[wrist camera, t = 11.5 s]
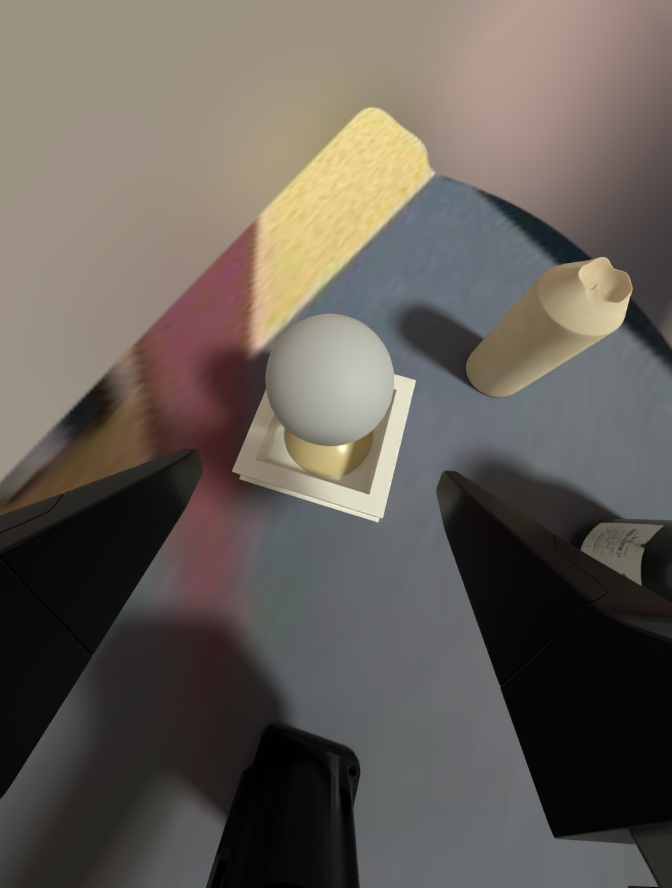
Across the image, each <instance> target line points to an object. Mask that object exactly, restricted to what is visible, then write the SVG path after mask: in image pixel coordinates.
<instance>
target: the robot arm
mask: <svg viewBox="0 0 672 888" xmlns="http://www.w3.org/2000/svg"><path fill="white" fill-rule="evenodd" d="M202 471H203V469H202V464H201V459H200V455H199V452H198V451H197V450H195V449H183V450H180V451H177V452H175V453H172V454H169V455H166V456H164V457H161V458H158V459H155V460H153V461H150V462H147V463H144V464H142V465H139V466H136V467H133V468H131V469H128V470H125V471H123V472H120V473H117V474H114V475H112V476H109V477H106V478H103V479H101V480H98V481H95V482H92V483H90V484H87V485H84V486H81V487H79V488H76V489H73V490H71V491H68V492H65V493H64V494H59V495H57V496H54V497H51V498H48V499H46V500H43V501H40V502H37V503H34V504H32V505H29V506H26V507H23V508H20V509H17V510H14V511H11V512H8V513H6V514H3V515H0V799H1V798H2V797H3V795H4V794H5V793H6V791H7V790H8V788H9V787H10V786H11V784H12V783H13V781H14V780H15V778H16V776H17V775H18V773H19V772H20V770H21V769H22V767H23V765H24V764H25V762H26V761H27V759H28V757H29V756H30V754H31V753H32V751H33V749H34V748H35V746H36V745H37V743H38V742H39V740H40V738H41V737H42V735H43V734H44V732H45V730H46V729H47V727H48V726H49V724H50V723H51V721H52V719H53V718H54V716H55V715H56V713H57V711H58V710H59V708H60V707H61V705H62V704H63V702H64V700H65V699H66V697H67V696H68V694H69V692H70V691H71V689H72V688H73V686H74V685H75V683H76V681H77V680H78V678H79V677H80V675H81V673H82V672H83V670H84V669H85V667H86V666H87V664H88V662H89V661H90V659H91V658H92V654H94V652H95V651H96V649H97V648H98V646H99V645H100V643H101V641H102V640H103V638H104V637H105V635H106V633H107V632H108V630H109V629H110V627H111V626H112V624H113V622H114V621H115V619H116V618H117V616H118V614H119V613H120V611H121V610H122V608H123V607H124V605H125V603H126V602H127V600H128V599H129V597H130V595H131V594H132V592H133V591H134V589H135V588H136V586H137V584H138V583H139V581H140V580H141V578H142V576H143V575H144V573H145V572H146V570H147V568H148V567H149V565H150V564H151V562H152V561H153V559H154V557H155V556H156V554H157V553H158V551H159V549H160V548H161V546H162V545H163V543H164V542H165V540H166V538H167V537H168V535H169V534H170V532H171V530H172V529H173V527H174V526H175V524H176V523H177V521H178V519H179V518H180V516H181V515H182V513H183V511H184V510H185V508H186V506H187V504H188V502H189V500H190V498H191V496H192V494H193V492H194V490H195V487H196V485H197V483H198V481H199V479H200V477H201V475H202ZM436 494H437V498H438V503H439V507H440V512H441V516H442V520H443V525H444V529H445V532H446V535H447V538H448V541H449V544H450V547H451V549H452V552H453V555H454V558H455V561H456V564H457V566H458V569H459V572H460V575H461V578H462V581H463V583H464V586H465V589H466V592H467V595H468V597H469V600H470V603H471V606H472V609H473V612H474V614H475V617H476V620H477V623H478V626H479V629H480V631H481V634H482V637H483V640H484V643H485V646H486V648H487V651H488V654H489V657H490V660H491V663H492V665H493V668H494V671H495V674H496V677H497V679H498V682H499V685H500V686H501V687H500V689H501V691H502V694H503V697H504V700H505V703H506V706H507V708H508V711H509V714H510V717H511V720H512V723H513V725H514V728H515V731H516V734H517V737H518V739H519V742H520V745H521V748H522V751H523V754H524V756H525V759H526V762H527V765H528V768H529V771H530V773H531V776H532V779H533V782H534V785H535V788H536V790H537V793H538V796H539V799H540V802H541V805H542V807H543V810H544V813H545V816H546V819H547V821H548V824H549V826H550V829H551V831H552V834H553V836H554V838H555V839H566V840H580V841H594V842H608V843H622V844H636V846H637V848H638V849H639V851H640V853H641V855H642V857H643V859H644V861H645V863H646V864H647V866H648V868H649V870H650V872H651V874H652V876H653V878H654V879H655V881H656V883H657V885H658V887H642V886H628V888H672V603H671V602H669V601H667V600H665V599H664V598H662V597H660V596H658V595H657V594H655V593H653V592H652V591H650V590H648V589H646V588H645V587H643V586H641V585H639V584H638V583H636V582H634V581H632V580H631V579H629V578H627V577H625V576H624V575H622V574H620V573H618V572H617V571H615V570H613V569H612V568H610V567H608V566H606V565H605V564H603V563H601V562H600V561H598V560H596V559H594V558H593V557H591V556H589V555H588V554H586V553H584V552H583V551H581V550H580V549H578V548H576V547H575V546H573V545H572V544H570V543H568V542H567V541H565V540H564V539H562V538H560V537H559V536H557V535H556V534H552V532H551V531H549V530H548V529H546V528H544V527H543V526H541V525H540V524H538V523H537V522H535V521H533V520H532V519H530V518H529V517H527V516H525V515H524V514H522V513H521V512H519V511H518V510H516V509H514V508H513V507H511V506H510V505H508V504H507V503H505V502H503V501H502V500H500V499H499V498H497V497H495V496H494V495H492V494H491V493H489V492H488V491H486V490H484V489H483V488H481V487H480V486H478V485H476V484H475V483H473V482H472V481H470V480H469V479H467V478H465V477H464V476H462V475H461V474H459V473H458V472H456V471H443V473H442V475H441V477H440V480H439V483H438V486H437V489H436ZM267 736H271V737H272V740H267V738H266V737H267ZM351 766H354V767H355V769H354V770H350V769H349V768H350V767H351ZM359 777H360V764H359V760H358V758H357V757H356V756H354V755H352V754H349V753H346V752H343V751H341V750H338V749H335V748H332V747H330V746H327V745H324V744H321V743H318V742H316V741H313V740H310V739H307V738H305V737H302V736H299V735H296V734H293V733H291V732H288V731H285V730H282V729H279V728H277V727H274V726H268V727H266V728H265V729H264V731H263V734H262V737H261V740H260V744H259V747H258V750H257V754H256V757H255V760H254V764H253V767H252V768H250V767H247V768H246V769H245V770H244V771H243V773H242V776H241V779H240V783H239V786H238V789H237V792H236V795H235V798H234V801H233V804H232V807H231V810H230V813H229V816H228V819H227V822H226V825H225V829H224V832H223V835H222V838H221V841H220V844H219V847H218V850H217V853H216V856H215V860H214V863H213V866H212V869H211V873H210V876H209V879H208V882H207V886H206V888H360V886H359V874H358V862H357V850H356V838H355V825H354V813H353V806H354V801H355V796H356V792H357V787H358V782H359Z"/></svg>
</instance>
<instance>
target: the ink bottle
mask: <svg viewBox="0 0 672 888" xmlns="http://www.w3.org/2000/svg"><path fill="white" fill-rule="evenodd" d="M572 545H573V546H575V547H576V548H578V549H580V550H581V551H583V552H584V553H586V554H588V555H589V556H591V557H593V558H594V559H596V560H598V561H600V562H601V563H603V564H605V565H606V566H608V567H610V568H612V569H613V570H615V571H617V572H618V573H620V574H622V575H624V576H625V577H627V578H629V579H631V580H632V581H634V582H636V583H638V584H639V585H641V586H643V587H645V588H646V589H648V590H650V591H652V592H653V593H655V594H657V595H658V596H660V597H662V598H664V599H665V600H667V601H669V602H671V603H672V520H643V519H605V520H600V521H597V522H594V523H592V524H590V525H588V526H586V527H585V528H583V529H582V530H581V531H580V532H579V533H578V534H577V536H576V537H575V539H574V541H573V543H572Z"/></svg>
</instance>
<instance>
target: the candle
mask: <svg viewBox="0 0 672 888" xmlns="http://www.w3.org/2000/svg"><path fill="white" fill-rule="evenodd" d="M632 290H633V288H632V285H631V281H630V278H629V276H628V274H627V273H625V272H624V271H620V270H616V269H614V268H613V267H612V266H611V264H610V261H609V260H608V259H607V258H604V257H600V258H596V259H593V260H588V261H582V262H575V263H568V264H563V265H559V266H555V267H553V268H550V269H549V270H547V271H546V272H545V273H544V274H543V275H542V276H541V277H540V278H539V279H538V280H537V281H536V282H535V283H534V285H533V286H532V287H531V288H530V289H529V290H528V291H527V292H526V293H525V294H524V296H523V297H522V298H521V299H520V300H519V301H518V302H517V303H516V304H515V305H514V307H513V308H512V309H511V310H510V311H509V312H508V313H507V314H506V315H505V316H504V317H503V319H502V320H501V321H500V322H499V323H498V324H497V325H496V326H495V327H494V328H493V330H492V331H491V332H490V333H489V334H488V335H487V336H486V337H485V338H484V339H483V341H482V342H481V343H480V344H479V345H478V346H477V347H476V348H475V350H474V351H473V352H472V353H471V354H470V356H469V358H468V360H467V362H466V373H467V376H468V379H469V381H470V382H471V384H472V385H473V386H474V387H475V388H476V389H477V390H479V391H480V392H482V393H483V394H485V395H488V396H491V397H506V396H509V395H512V394H514V393H516V392H517V391H519V390H521V389H522V388H524V387H526V386H527V385H529V384H530V383H532V382H534V381H535V380H537V379H538V378H540V377H542V376H543V375H545V374H546V373H548V372H550V371H551V370H553V369H554V368H556V367H558V366H559V365H561V364H562V363H564V362H566V361H567V360H569V359H570V358H572V357H574V356H575V355H577V354H578V353H580V352H581V351H583V350H585V349H586V348H588V347H589V346H591V345H593V344H594V343H596V342H597V341H599V340H601V339H602V338H604V337H605V336H607V335H609V334H610V333H612V332H613V331H615V330H616V329H617V328H618V327H619V326H620V325H621V324H622V322H623V320H624V317H625V313H626V310H627V306H628V302H629V298H630V295H631V292H632Z"/></svg>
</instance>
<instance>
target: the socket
mask: <svg viewBox="0 0 672 888" xmlns="http://www.w3.org/2000/svg"><path fill="white" fill-rule="evenodd" d="M415 382H416V380H413V379H409V378H406V377H402V376H398V375H395V374H394V390H393V395H392V400H391V403H390V405H389V408H388V410H387V412H386V414H385V416H384V417H383V419H382V420H381V421H380V423H379V424H378V425H377V426H376V427H375V428H374V429H373V430H372V431H371V432H370V433H369V434H367V435H365V436H364V437H362V438H360V439H359V440H356V441H354V442H351V443H348V444H345V445H339V446H320V445H316V444H312V443H309V442H306V441H304V440H302V439H300V438H298V437H296V436H295V435H293V434H292V433H291V432H289V431H288V430H287V429H286V428H285V427H284V426H283V425H282V424H281V423H280V421H279V420H278V419H277V417H276V415H275V413H274V412H273V410H272V408H271V406H270V403H269V400H268V397H267V391H265V393H264V395H263V398H262V400H261V403H260V405H259V407H258V410H257V412H256V415H255V417H254V420H253V422H252V424H251V427H250V429H249V432H248V434H247V436H246V439H245V441H244V444H243V446H242V448H241V451H240V453H239V456H238V458H237V460H236V463H235V465H234V468H233V470H232V472H235V473H237V474H240V478H239V479H241V480H243V481H246V482H250V483H253V484H256V485H259V486H262V487H266V488H269V489H272V490H275V491H279V492H282V493H285V494H288V495H291V496H295V497H298V498H301V499H304V500H307V501H311V502H314V503H317V504H320V505H323V506H327V507H330V508H333V509H336V510H339V511H343V512H346V513H349V514H352V515H355V516H359V517H362V518H365V519H368V520H372V521H375V522H379V518H383V515H384V510H385V506H386V502H387V498H388V494H389V490H390V485H391V481H392V477H393V473H394V469H395V465H396V461H397V456H398V452H399V448H400V444H401V440H402V436H403V431H404V427H405V423H406V419H407V415H408V411H409V407H410V402H411V398H412V394H413V390H414V386H415Z"/></svg>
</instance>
